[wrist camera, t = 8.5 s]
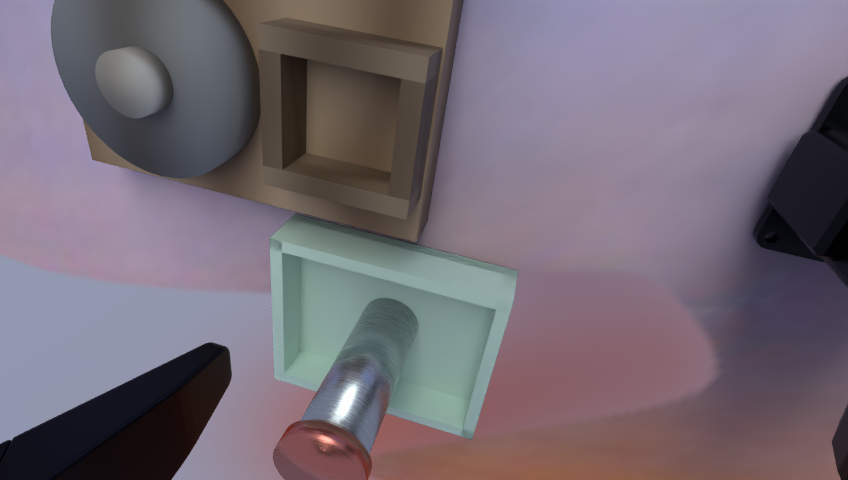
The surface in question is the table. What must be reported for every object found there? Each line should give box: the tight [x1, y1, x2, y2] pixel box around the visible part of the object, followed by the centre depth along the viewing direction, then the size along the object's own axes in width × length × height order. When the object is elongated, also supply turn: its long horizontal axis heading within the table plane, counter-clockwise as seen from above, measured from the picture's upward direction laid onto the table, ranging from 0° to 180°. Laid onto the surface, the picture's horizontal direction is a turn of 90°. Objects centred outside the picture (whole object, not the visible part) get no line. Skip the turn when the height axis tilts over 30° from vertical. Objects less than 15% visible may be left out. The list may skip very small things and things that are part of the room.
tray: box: [270, 214, 518, 440], centre depth 25 cm, size 11×9×2 cm
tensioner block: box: [51, 0, 463, 242], centre depth 19 cm, size 16×10×4 cm, turn 82°
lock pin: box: [273, 298, 419, 480], centre depth 21 cm, size 4×4×9 cm
